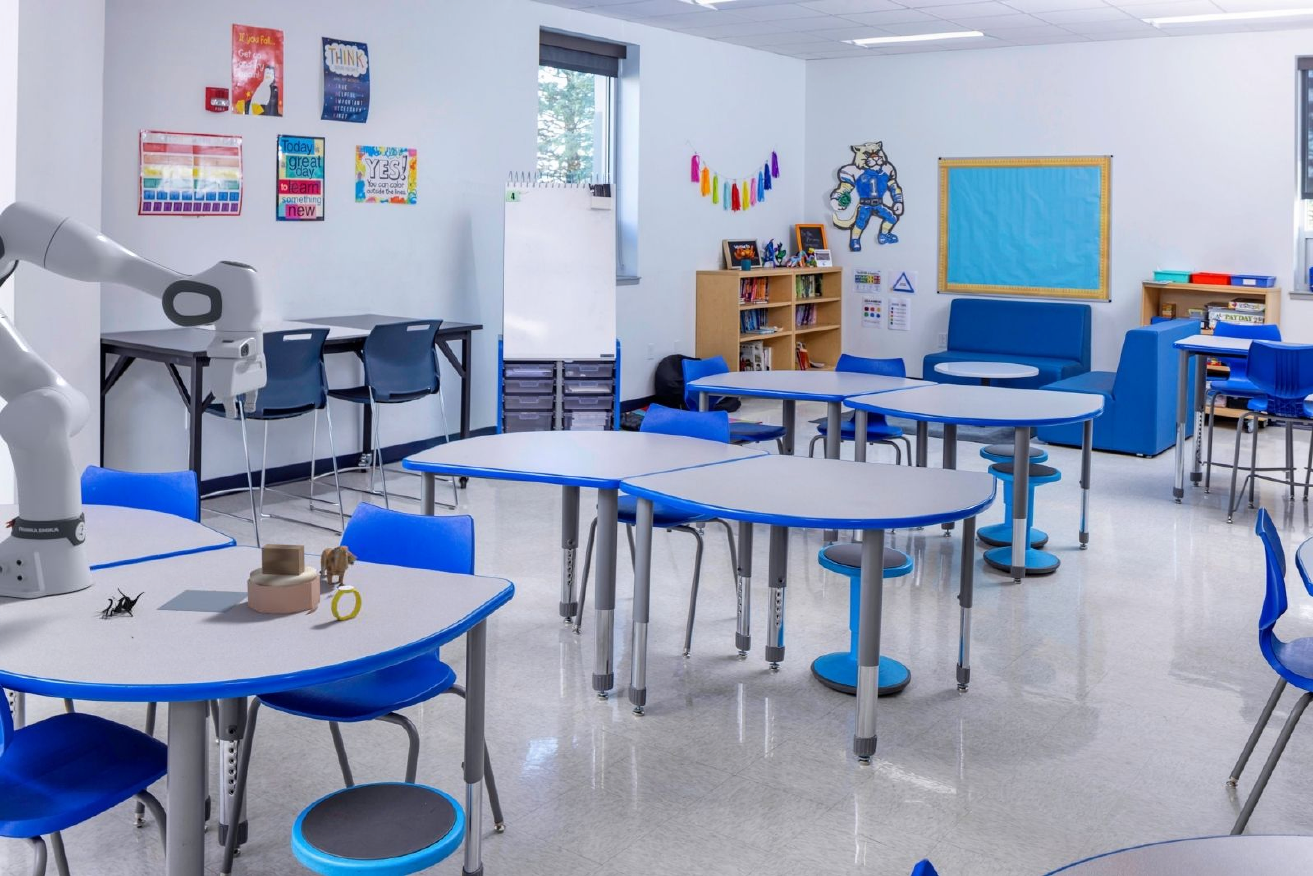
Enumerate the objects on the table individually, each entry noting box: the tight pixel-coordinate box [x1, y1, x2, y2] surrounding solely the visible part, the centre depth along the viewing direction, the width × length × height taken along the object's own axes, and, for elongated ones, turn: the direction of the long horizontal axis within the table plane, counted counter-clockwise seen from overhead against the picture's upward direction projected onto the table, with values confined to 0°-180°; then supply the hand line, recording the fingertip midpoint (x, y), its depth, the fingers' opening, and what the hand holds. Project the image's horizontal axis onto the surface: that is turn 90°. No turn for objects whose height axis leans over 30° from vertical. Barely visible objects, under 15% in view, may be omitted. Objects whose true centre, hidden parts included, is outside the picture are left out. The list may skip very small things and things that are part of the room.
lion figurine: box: [318, 545, 358, 587], centre depth 250 cm, size 15×5×9 cm, turn 36°
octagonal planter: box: [246, 574, 321, 616], centre depth 232 cm, size 12×12×6 cm
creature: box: [101, 587, 146, 620], centre depth 224 cm, size 8×5×8 cm
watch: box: [330, 585, 363, 621], centre depth 228 cm, size 6×3×6 cm, turn 142°
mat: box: [156, 589, 248, 613], centre depth 233 cm, size 13×13×1 cm
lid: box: [249, 543, 318, 587], centre depth 232 cm, size 12×12×6 cm
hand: (241, 415), depth 245 cm, fingers open, 8 cm apart
